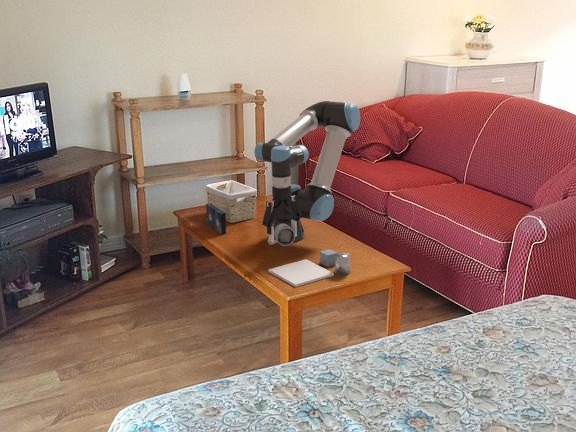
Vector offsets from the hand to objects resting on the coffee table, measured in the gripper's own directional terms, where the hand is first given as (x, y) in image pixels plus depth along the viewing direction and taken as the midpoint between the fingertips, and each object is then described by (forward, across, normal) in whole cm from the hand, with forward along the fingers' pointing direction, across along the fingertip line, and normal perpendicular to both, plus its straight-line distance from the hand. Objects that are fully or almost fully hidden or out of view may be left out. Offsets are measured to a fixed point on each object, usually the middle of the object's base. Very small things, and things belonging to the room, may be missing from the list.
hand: (282, 238), depth 272 cm
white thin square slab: (+8, -4, -17) cm, 19 cm away
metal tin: (+9, +10, -25) cm, 29 cm away
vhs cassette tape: (+9, -4, +49) cm, 50 cm away
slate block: (+9, +11, -15) cm, 21 cm away
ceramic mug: (+2, 0, +1) cm, 2 cm away
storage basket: (+10, +12, +62) cm, 64 cm away
